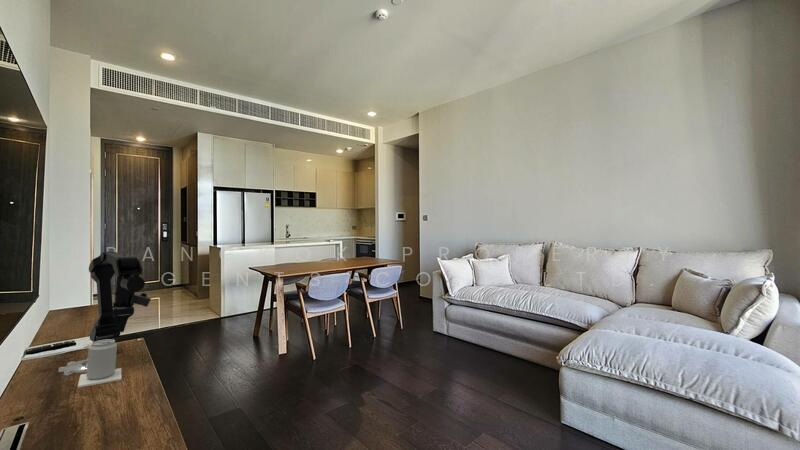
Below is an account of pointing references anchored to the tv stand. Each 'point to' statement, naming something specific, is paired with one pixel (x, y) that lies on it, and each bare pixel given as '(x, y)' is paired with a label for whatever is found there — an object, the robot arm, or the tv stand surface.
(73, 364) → the sprocket
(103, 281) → the robot arm
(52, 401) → the tv stand surface
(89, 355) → the can
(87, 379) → the pad
